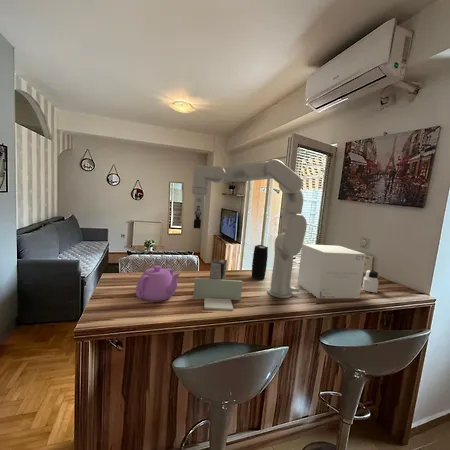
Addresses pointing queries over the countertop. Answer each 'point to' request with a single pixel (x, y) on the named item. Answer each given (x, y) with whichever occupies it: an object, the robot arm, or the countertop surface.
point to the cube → (331, 271)
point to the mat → (218, 304)
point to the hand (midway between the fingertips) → (197, 226)
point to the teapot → (156, 284)
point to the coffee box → (218, 269)
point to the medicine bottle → (370, 281)
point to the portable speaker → (259, 261)
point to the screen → (217, 289)
